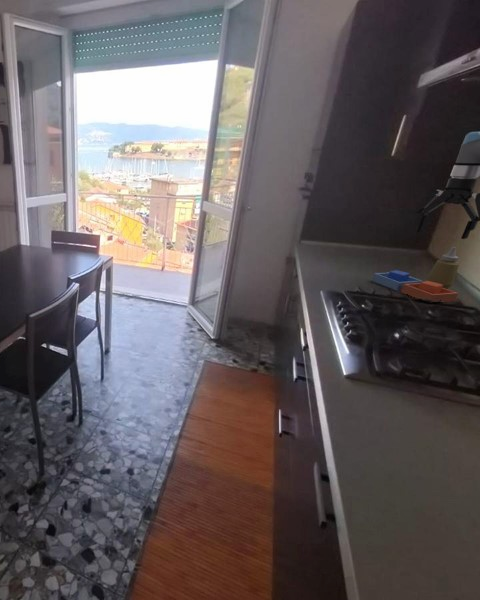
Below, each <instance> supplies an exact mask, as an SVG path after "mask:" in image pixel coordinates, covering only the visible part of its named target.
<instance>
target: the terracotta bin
mask: <svg viewBox="0 0 480 600" xmlns="http://www.w3.org/2000/svg"><path fill="white" fill-rule="evenodd" d="M419 285H420V283H413V284H404V285H403V287H402V290H400V293H401V294H404V295H406V294H408V295H407V296H409V295H410V296H409V297H411V296H412V297H411V298H414V297H415V298H414V299H417V298H425V299H428V300H432V301H437V300H440V299H441V300H442V301H443V303H455V301H456V300H457V297H458V295H459V292H457V291H454V290H451V289H449V288H448V289H445V288H442V289H441V291H440V293H439V294H431V293H428V292H426V291H423V290H420V289H418V288H419Z"/></svg>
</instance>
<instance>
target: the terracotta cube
mask: <svg viewBox="0 0 480 600" xmlns="http://www.w3.org/2000/svg"><path fill="white" fill-rule="evenodd" d="M442 287H443V285H442V284H439V283H435V282H431V281H427V280H425V281H424V280H423V282H421V283H420V285H419V288H418V289H420V290H423V291H426V292H428V293H431V294H439V293H440V291H441V289H442Z"/></svg>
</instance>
